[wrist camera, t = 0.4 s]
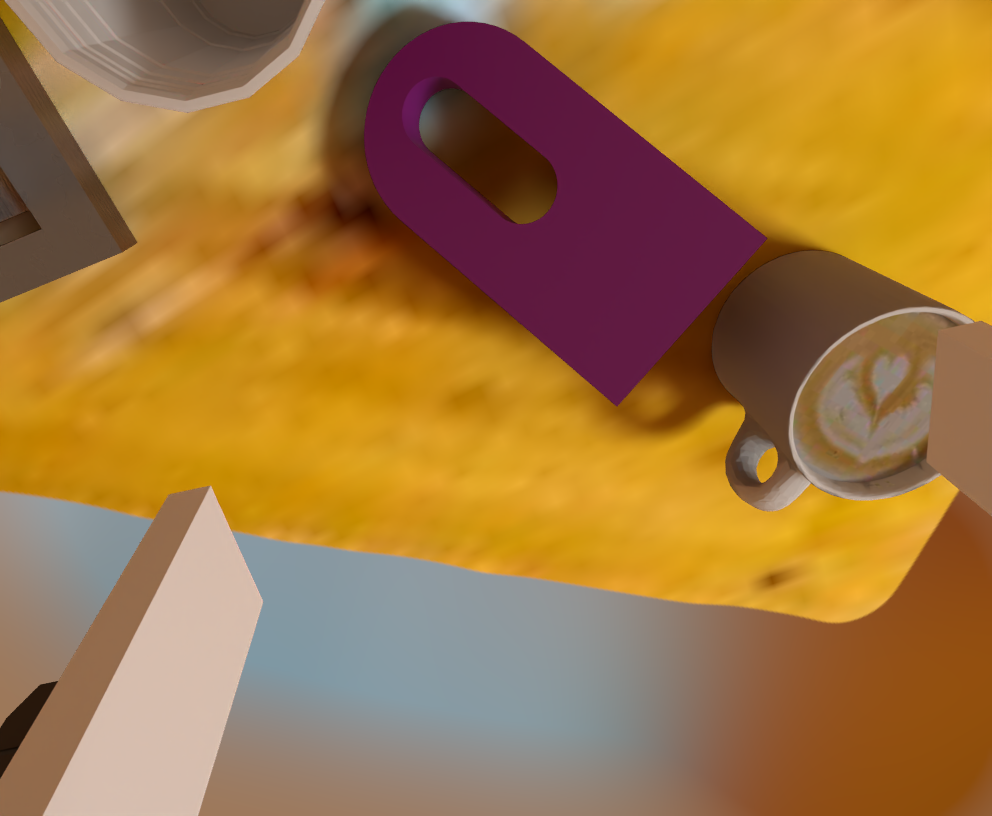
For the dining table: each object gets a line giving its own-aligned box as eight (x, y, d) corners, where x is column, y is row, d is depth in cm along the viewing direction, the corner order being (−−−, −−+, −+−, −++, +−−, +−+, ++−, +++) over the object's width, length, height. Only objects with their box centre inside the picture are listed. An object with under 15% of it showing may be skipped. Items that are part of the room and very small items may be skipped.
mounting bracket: (399, 180, 42) (633, 382, 40) (328, 157, 34) (616, 407, 32) (497, 37, 39) (754, 248, 37) (444, -25, 31) (768, 239, 29)
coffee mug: (811, 212, 39) (925, 259, 30) (911, 324, 42) (1041, 396, 33) (634, 386, 43) (687, 474, 34) (739, 477, 46) (814, 578, 37)
